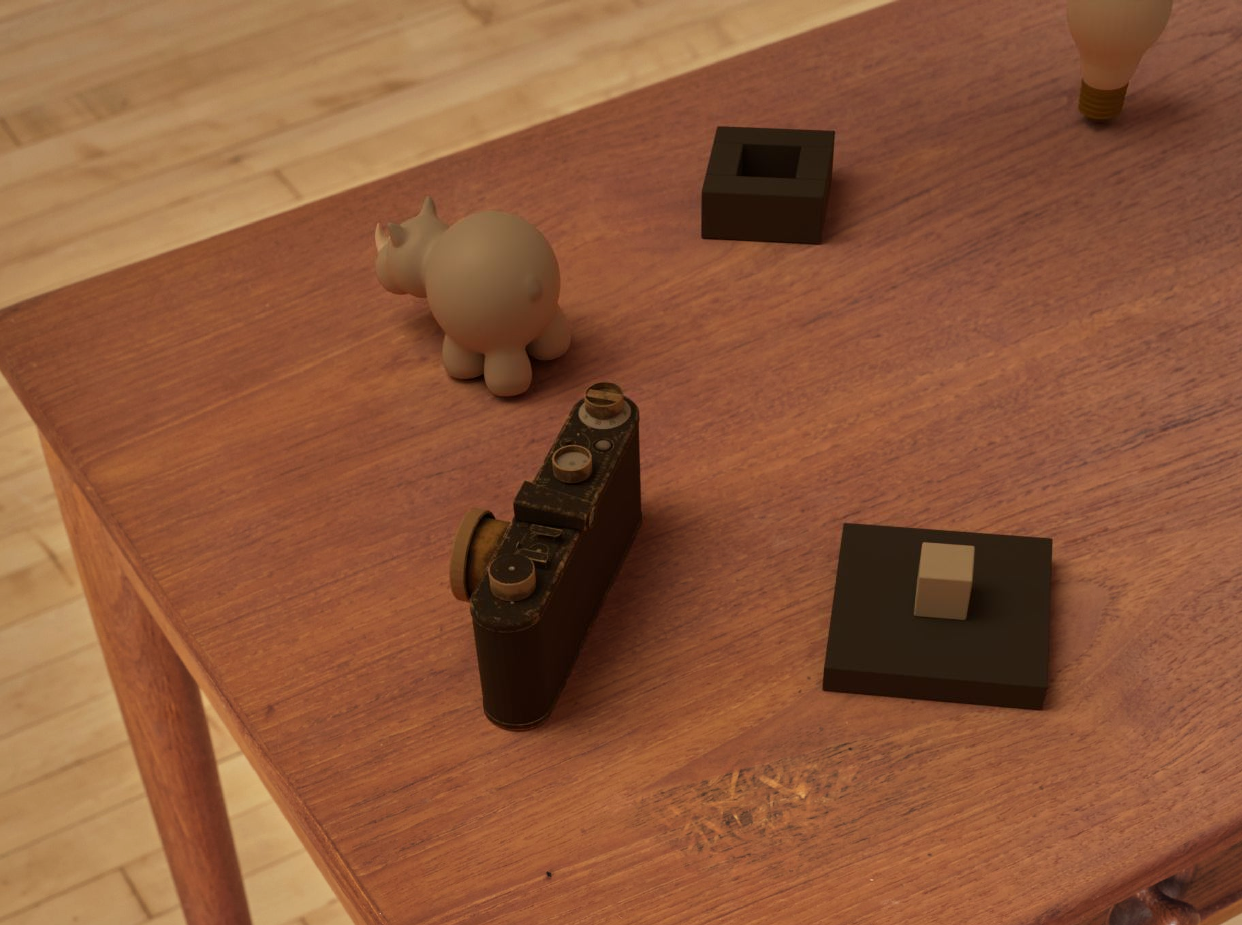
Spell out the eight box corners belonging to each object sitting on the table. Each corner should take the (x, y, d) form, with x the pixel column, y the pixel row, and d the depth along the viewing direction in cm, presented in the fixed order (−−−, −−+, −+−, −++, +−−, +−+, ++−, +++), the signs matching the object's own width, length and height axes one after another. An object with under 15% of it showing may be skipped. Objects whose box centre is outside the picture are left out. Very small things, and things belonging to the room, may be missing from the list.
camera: (536, 486, 94) (525, 356, 87) (659, 509, 92) (656, 378, 86) (416, 710, 85) (394, 583, 79) (549, 740, 83) (537, 612, 77)
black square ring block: (832, 177, 109) (835, 130, 107) (820, 244, 105) (823, 197, 103) (716, 172, 110) (717, 125, 108) (700, 238, 106) (701, 191, 104)
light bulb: (1049, 146, 110) (1078, -22, 101) (1047, 94, 113) (1074, -72, 105) (1150, 147, 109) (1186, -22, 101) (1144, 95, 112) (1179, -72, 104)
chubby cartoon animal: (432, 279, 105) (414, 142, 99) (592, 351, 100) (585, 211, 94) (348, 342, 102) (323, 204, 96) (509, 419, 97) (495, 279, 90)
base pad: (1047, 561, 88) (1061, 497, 85) (1042, 710, 82) (1056, 647, 79) (841, 545, 90) (847, 481, 87) (822, 690, 84) (827, 628, 81)
